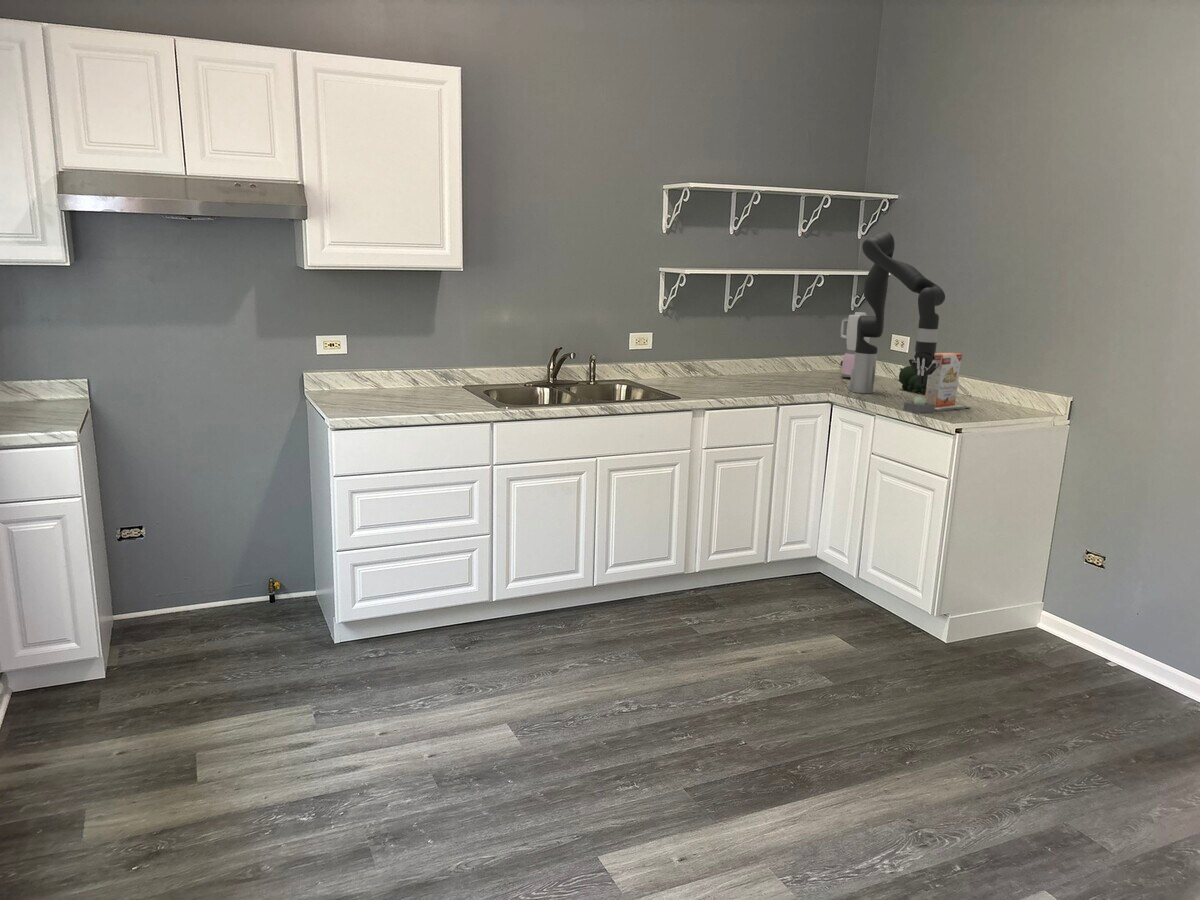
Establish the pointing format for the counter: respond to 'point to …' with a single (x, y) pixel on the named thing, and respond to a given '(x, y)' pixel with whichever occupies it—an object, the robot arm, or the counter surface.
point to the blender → (850, 342)
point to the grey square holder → (919, 407)
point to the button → (919, 400)
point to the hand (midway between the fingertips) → (921, 385)
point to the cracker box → (944, 380)
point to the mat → (950, 407)
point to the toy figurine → (911, 380)
